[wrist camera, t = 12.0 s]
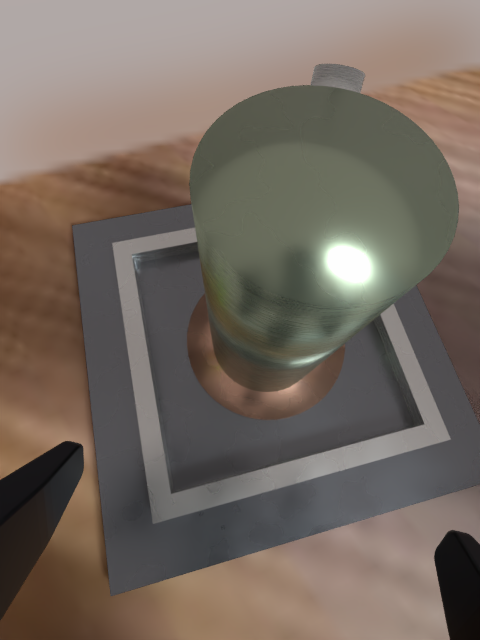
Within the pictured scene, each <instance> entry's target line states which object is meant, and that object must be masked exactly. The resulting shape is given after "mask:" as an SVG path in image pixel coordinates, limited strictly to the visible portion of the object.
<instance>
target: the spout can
mask: <svg viewBox="0 0 480 640" xmlns="http://www.w3.org/2000/svg"><path fill="white" fill-rule="evenodd" d="M364 77H365V74H364V73H363V72H362V71H360V70H358V69H355V68H352V67H349V66H344V65H338V64H319V65H317V66H315V68H314V72H313V77H312V81H311V85H303V86H290V87H283V88H277V89H274V90H270V91H266V92H263V93H260V94H257V95H255V96H252V97H250V98H248V99H246V100H244V101H242V102H240V103H238V104H236V105H235V106H233V107H232V108H231V109H229V110H228V111H226V112H225V113H224V114H223V115H221V116H220V117H219V118H218V119H217V120H216V121H215V122H214V123H213V124H212V125H211V127H210V128H209V129H208V130H207V131H206V133H205V135H204V136H203V138H202V139H201V141H200V143H199V145H198V147H197V150H196V152H195V154H194V157H193V161H192V165H191V170H190V183H189V185H190V196H191V204H192V211H193V217H194V224H195V230H196V237H197V244H198V250H199V257H200V264H201V270H202V277H203V284H204V290H205V297H206V304H207V310H208V317H209V324H210V330H211V337H212V343H213V349H214V353H215V356H216V359H217V361H218V363H219V365H220V367H221V368H222V369H223V371H224V372H225V373H226V374H227V375H228V376H229V377H230V378H231V379H232V380H233V381H235V382H236V383H238V384H239V385H241V386H243V387H245V388H248V389H251V390H254V391H260V392H274V391H280V390H284V389H286V388H289V387H291V386H293V385H294V384H296V383H297V382H299V381H300V380H301V379H302V378H304V377H305V376H306V375H307V374H309V373H310V372H311V371H312V370H313V369H315V368H316V367H317V366H318V365H320V364H321V363H322V362H323V361H324V360H326V359H327V358H328V357H329V356H330V355H332V354H333V353H334V352H335V351H337V350H338V349H339V348H340V347H341V346H343V345H344V344H345V343H346V342H347V341H349V340H350V339H351V338H352V337H354V336H355V335H356V334H357V333H358V332H360V331H361V330H362V329H363V328H364V327H366V326H367V325H368V324H369V323H371V322H372V321H373V320H374V319H375V318H377V317H378V316H379V315H380V314H381V313H383V312H384V311H385V310H386V309H388V308H389V307H390V306H391V305H392V304H394V303H395V302H396V301H397V300H399V299H400V298H401V297H402V296H403V295H405V294H406V293H407V292H408V291H409V290H411V289H412V288H413V287H414V286H416V285H417V284H418V283H419V282H420V281H422V280H423V279H424V278H425V277H426V276H428V275H429V274H430V273H431V272H432V271H433V270H434V268H435V267H436V266H437V265H438V264H439V263H440V262H441V260H442V259H443V257H444V256H445V254H446V253H447V251H448V249H449V247H450V245H451V243H452V240H453V238H454V235H455V231H456V227H457V223H458V213H459V203H458V193H457V189H456V184H455V180H454V177H453V175H452V172H451V170H450V167H449V165H448V163H447V161H446V160H445V158H444V156H443V154H442V153H441V151H440V150H439V149H438V147H437V146H436V145H435V143H434V142H433V140H432V139H431V138H430V137H429V136H428V135H427V134H426V133H425V132H424V131H423V130H422V129H421V128H420V127H419V126H418V125H416V124H415V123H414V122H413V121H412V120H411V119H409V118H408V117H406V116H405V115H403V114H402V113H401V112H399V111H398V110H396V109H394V108H392V107H390V106H389V105H387V104H385V103H383V102H381V101H379V100H376V99H374V98H372V97H369V96H366V95H363V94H360V92H361V88H362V85H363V81H364Z"/></svg>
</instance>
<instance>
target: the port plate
mask: <svg viewBox="0 0 480 640" xmlns="http://www.w3.org/2000/svg"><path fill="white" fill-rule="evenodd" d="M72 228H73V238H74V248H75V257H76V267H77V277H78V286H79V296H80V305H81V315H82V325H83V334H84V344H85V354H86V363H87V373H88V382H89V392H90V402H91V411H92V421H93V431H94V440H95V450H96V460H97V469H98V479H99V488H100V498H101V508H102V517H103V527H104V537H105V546H106V556H107V565H108V575H109V585H110V594H111V596H113V595H117V594H120V593H123V592H127V591H130V590H133V589H136V588H140V587H143V586H146V585H150V584H153V583H156V582H159V581H163V580H166V579H169V578H173V577H176V576H179V575H183V574H186V573H189V572H192V571H196V570H199V569H202V568H206V567H209V566H212V565H215V564H219V563H222V562H225V561H229V560H232V559H235V558H239V557H242V556H245V555H248V554H252V553H255V552H258V551H262V550H265V549H268V548H271V547H275V546H278V545H281V544H285V543H288V542H291V541H295V540H298V539H301V538H304V537H308V536H311V535H314V534H318V533H321V532H324V531H327V530H331V529H334V528H337V527H341V526H344V525H347V524H350V523H354V522H357V521H360V520H364V519H367V518H370V517H374V516H377V515H380V514H383V513H387V512H390V511H393V510H397V509H400V508H403V507H406V506H410V505H413V504H416V503H420V502H423V501H426V500H430V499H433V498H436V497H439V496H443V495H446V494H449V493H453V492H456V491H459V490H462V489H466V488H469V487H472V486H476V485H479V484H480V424H479V422H478V420H477V418H476V415H475V413H474V411H473V409H472V407H471V404H470V402H469V400H468V398H467V396H466V393H465V391H464V389H463V387H462V385H461V382H460V380H459V378H458V376H457V374H456V371H455V369H454V367H453V365H452V363H451V360H450V358H449V356H448V354H447V352H446V349H445V347H444V345H443V343H442V341H441V338H440V336H439V334H438V332H437V330H436V327H435V325H434V323H433V321H432V319H431V316H430V314H429V312H428V310H427V307H426V305H425V303H424V301H423V299H422V296H421V294H420V292H419V290H418V288H417V285H416V286H414V287H413V288H412V289H411V290H409V291H408V292H407V293H406V294H405V295H403V296H402V297H401V298H400V299H399V300H397V301H396V302H395V303H394V304H392V305H391V306H390V307H389V308H388V309H386V310H385V311H384V312H383V313H381V314H380V315H379V316H378V317H377V318H375V319H374V320H373V321H372V322H371V323H369V324H368V325H367V326H366V327H364V328H363V329H362V330H361V331H360V332H358V333H357V334H356V335H355V336H354V337H352V338H351V339H350V340H349V341H347V342H346V343H345V344H344V345H343V346H341V347H340V348H339V349H338V350H337V351H335V352H334V353H333V354H332V355H330V356H329V357H328V358H327V359H326V360H324V361H323V362H322V363H321V364H320V365H318V366H317V367H316V368H315V369H313V370H312V371H311V372H310V373H309V374H307V375H306V376H305V377H304V378H302V379H301V380H300V381H299V382H297V383H296V384H294V385H293V386H291V387H289V388H286V389H284V390H280V391H274V392H260V391H254V390H251V389H248V388H245V387H243V386H241V385H239V384H238V383H236V382H235V381H233V380H232V379H231V378H230V377H229V376H228V375H227V374H226V373H225V372H224V371H223V369H222V368H221V367H220V365H219V363H218V361H217V359H216V356H215V353H214V349H213V343H212V337H211V330H210V324H209V317H208V310H207V304H206V297H205V290H204V284H203V277H202V270H201V264H200V257H199V250H198V244H197V237H196V230H195V224H194V217H193V211H192V204H190V205H185V206H179V207H173V208H168V209H162V210H157V211H151V212H145V213H140V214H134V215H128V216H123V217H117V218H111V219H106V220H100V221H95V222H89V223H83V224H78V225H72Z"/></svg>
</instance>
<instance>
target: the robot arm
mask: <svg viewBox="0 0 480 640" xmlns="http://www.w3.org/2000/svg"><path fill="white" fill-rule="evenodd" d="M83 469H84V458H83V446H82V445H81V444H79V443H75V442H71V441H65V442H62V443H61V444H59V445H57V446H56V447H54V448H52V449H51V450H49V451H47V452H46V453H44V454H42V455H41V456H39V457H37V458H36V459H34V460H33V461H31V462H29V463H28V464H26V465H24V466H23V467H21V468H19V469H18V470H16V471H14V472H13V473H11V474H9V475H8V476H6V477H4V478H3V479H1V480H0V620H1V619H2V617H3V615H4V614H5V612H6V611H7V609H8V607H9V606H10V604H11V603H12V601H13V599H14V598H15V596H16V594H17V593H18V591H19V590H20V588H21V586H22V585H23V583H24V581H25V580H26V578H27V577H28V575H29V573H30V572H31V570H32V569H33V567H34V565H35V564H36V562H37V560H38V559H39V557H40V556H41V554H42V552H43V551H44V549H45V547H46V546H47V544H48V542H49V540H50V538H51V537H52V535H53V533H54V531H55V529H56V527H57V525H58V523H59V521H60V519H61V517H62V515H63V513H64V511H65V509H66V507H67V505H68V502H69V500H70V498H71V496H72V494H73V492H74V490H75V488H76V486H77V484H78V482H79V480H80V478H81V476H82V473H83ZM434 559H435V566H436V571H437V576H438V581H439V586H440V592H441V597H442V602H443V607H444V612H445V618H446V623H447V628H448V632H449V637H450V640H480V544H479V543H478V542H477V541H476V540H475V539H474V538H473V537H472V536H471V535H469V534H467V533H463V532H459V531H455V530H451V531H449V532H448V533H447V534H446V535H445V537H444V538H443V540H442V541H441V543H440V544H439V545H438V547H437V548H436V550H435V555H434Z"/></svg>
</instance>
